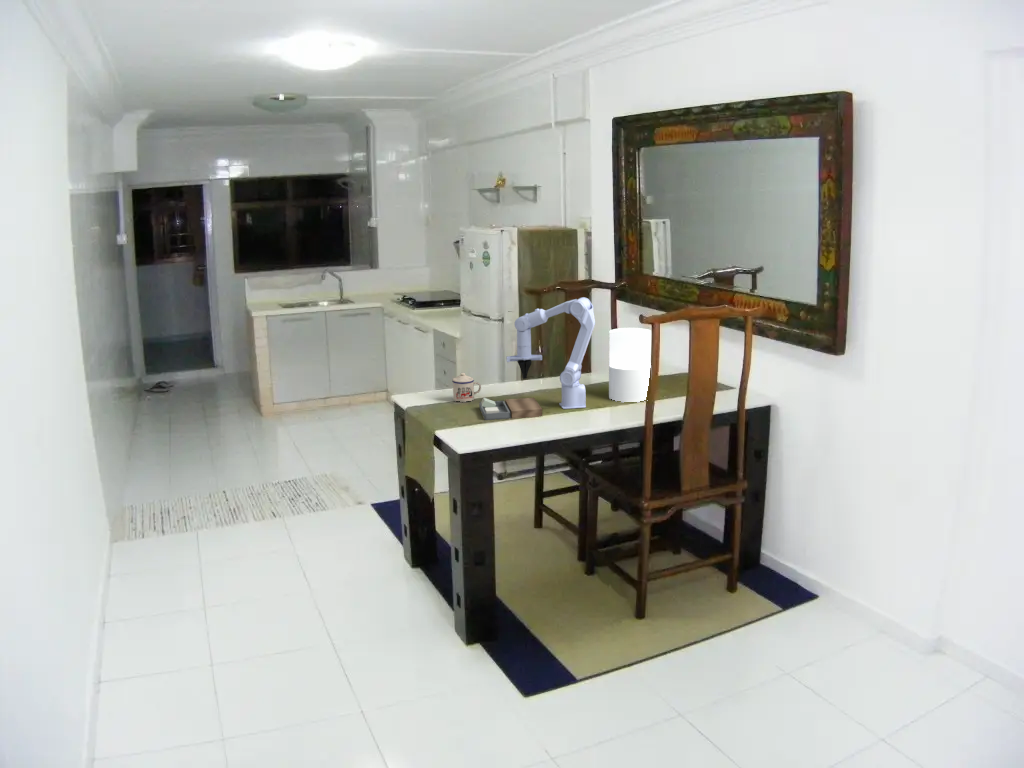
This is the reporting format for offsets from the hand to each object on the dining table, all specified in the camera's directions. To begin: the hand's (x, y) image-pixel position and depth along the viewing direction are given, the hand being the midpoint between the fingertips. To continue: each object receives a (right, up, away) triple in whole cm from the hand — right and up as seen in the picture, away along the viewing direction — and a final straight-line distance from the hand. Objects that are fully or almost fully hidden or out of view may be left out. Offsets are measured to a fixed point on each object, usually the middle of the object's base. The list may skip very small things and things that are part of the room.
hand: (524, 378), depth 346 cm
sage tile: (-14, -9, -9) cm, 19 cm away
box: (-12, -14, -12) cm, 22 cm away
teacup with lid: (-24, -9, +9) cm, 27 cm away
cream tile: (-13, -12, -17) cm, 25 cm away
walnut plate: (-1, -13, -11) cm, 17 cm away
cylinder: (+44, -8, +7) cm, 45 cm away
